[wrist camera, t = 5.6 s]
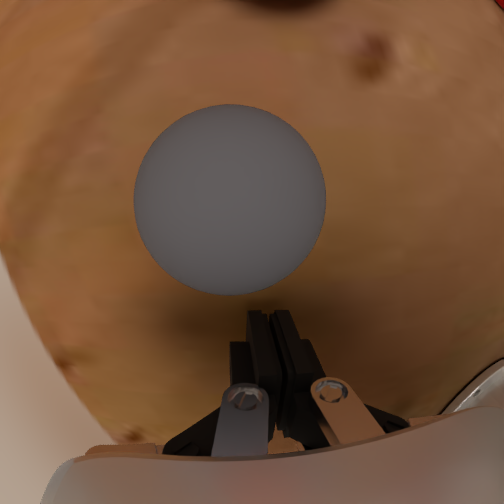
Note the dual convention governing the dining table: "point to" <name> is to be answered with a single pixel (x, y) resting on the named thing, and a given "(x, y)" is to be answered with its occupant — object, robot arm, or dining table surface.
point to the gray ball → (229, 199)
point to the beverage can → (500, 3)
